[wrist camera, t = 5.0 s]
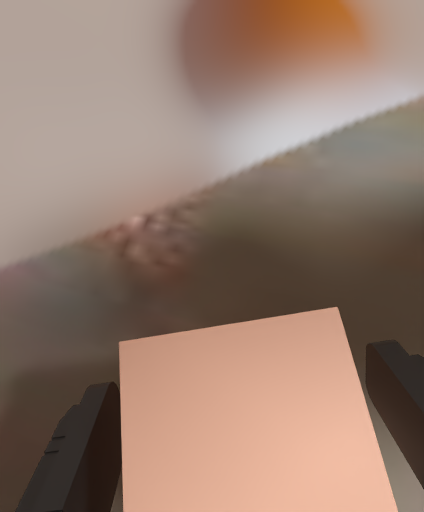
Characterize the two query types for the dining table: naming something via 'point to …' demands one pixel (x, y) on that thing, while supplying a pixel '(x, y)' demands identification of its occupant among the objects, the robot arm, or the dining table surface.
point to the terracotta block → (249, 420)
